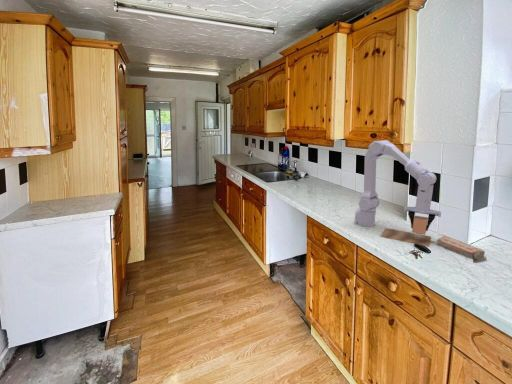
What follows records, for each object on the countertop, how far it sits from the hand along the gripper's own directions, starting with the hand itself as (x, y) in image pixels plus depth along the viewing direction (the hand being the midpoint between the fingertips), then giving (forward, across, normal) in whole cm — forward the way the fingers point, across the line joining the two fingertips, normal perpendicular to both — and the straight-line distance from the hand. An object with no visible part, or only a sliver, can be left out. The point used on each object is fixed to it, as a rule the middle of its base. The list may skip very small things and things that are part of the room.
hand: (419, 228), depth 137 cm
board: (+6, -5, 0) cm, 8 cm away
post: (+5, 0, 0) cm, 5 cm away
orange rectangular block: (+1, 0, 0) cm, 1 cm away
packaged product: (+7, +15, -4) cm, 17 cm away
